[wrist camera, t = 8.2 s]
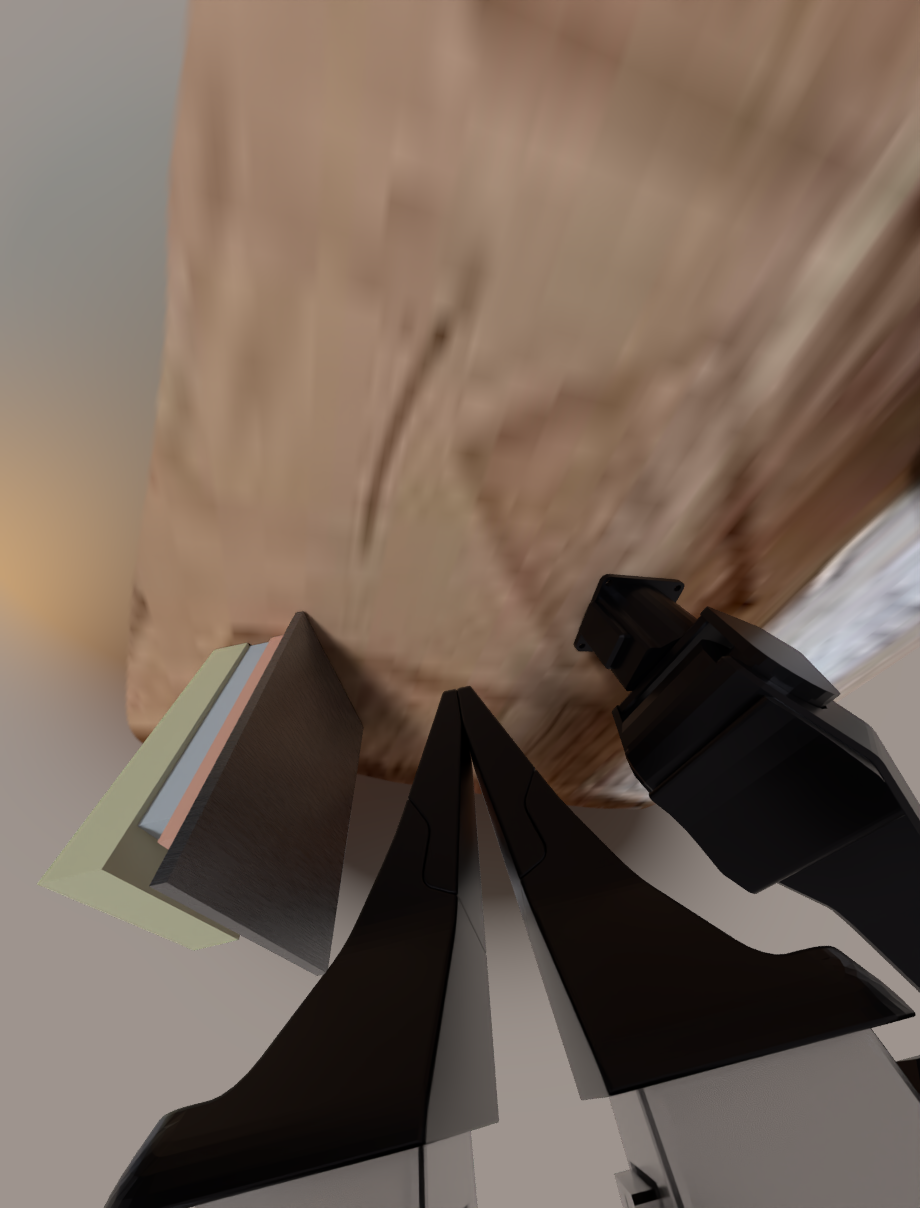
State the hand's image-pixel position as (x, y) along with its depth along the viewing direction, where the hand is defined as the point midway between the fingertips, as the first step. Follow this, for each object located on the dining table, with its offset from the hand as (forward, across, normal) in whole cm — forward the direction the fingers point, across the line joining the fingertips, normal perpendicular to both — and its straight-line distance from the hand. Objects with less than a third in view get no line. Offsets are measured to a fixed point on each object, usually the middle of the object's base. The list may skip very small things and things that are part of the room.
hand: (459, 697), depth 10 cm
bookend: (+12, +9, +8) cm, 17 cm away
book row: (+12, +13, +8) cm, 19 cm away
